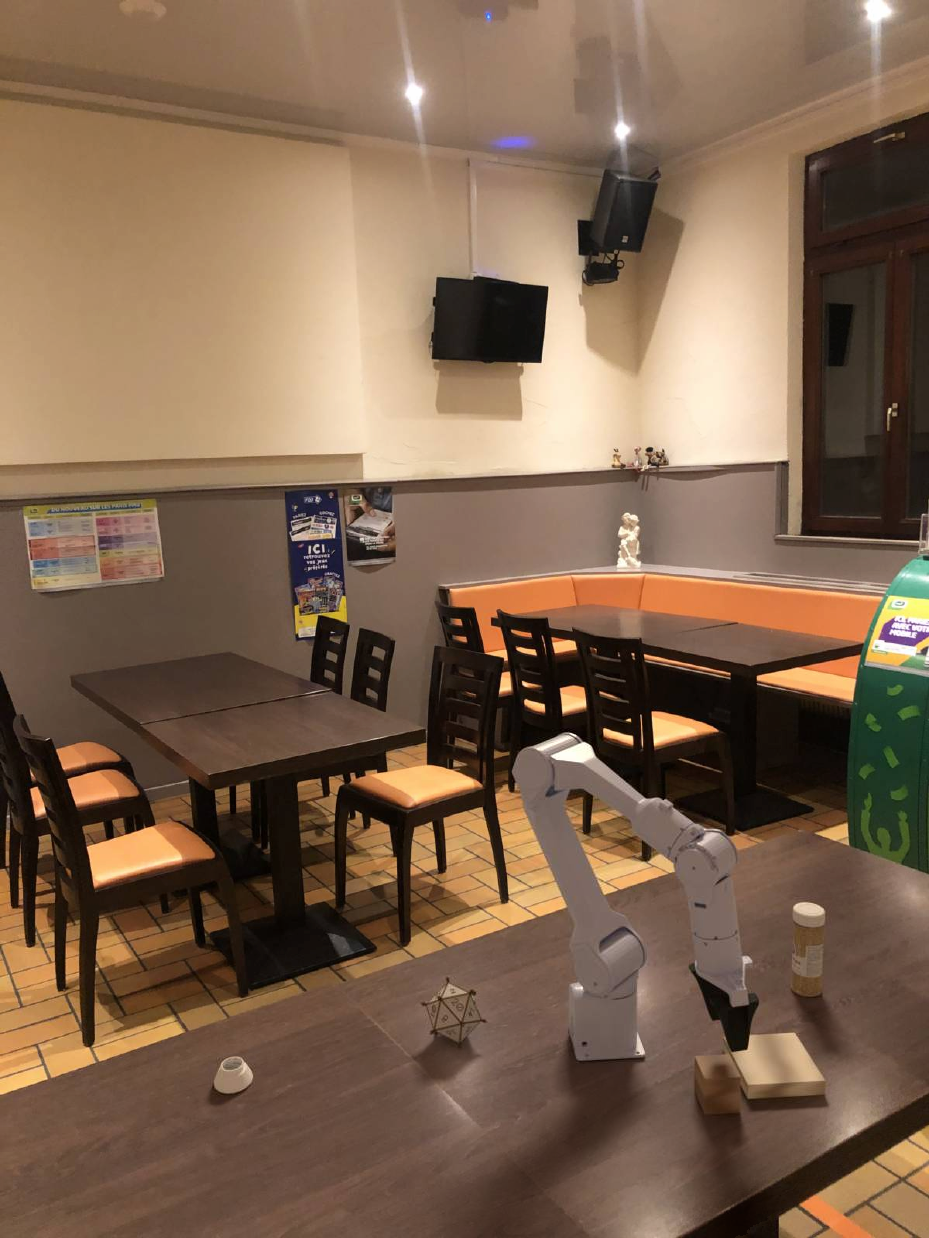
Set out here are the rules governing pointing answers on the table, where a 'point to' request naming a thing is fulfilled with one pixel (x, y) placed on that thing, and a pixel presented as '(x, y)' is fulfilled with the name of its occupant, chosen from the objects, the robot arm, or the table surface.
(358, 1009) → the table surface
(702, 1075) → the walnut block
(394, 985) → the table surface
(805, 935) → the sprinkles bottle
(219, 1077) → the lidless jar
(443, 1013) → the game die
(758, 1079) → the birch base
